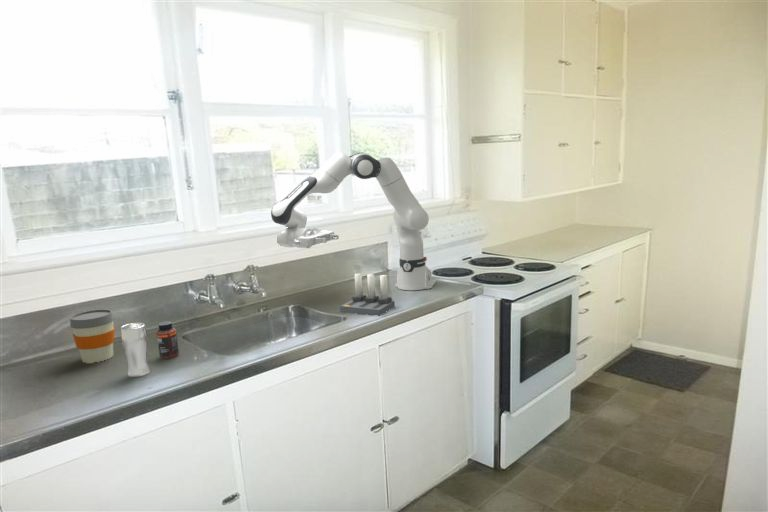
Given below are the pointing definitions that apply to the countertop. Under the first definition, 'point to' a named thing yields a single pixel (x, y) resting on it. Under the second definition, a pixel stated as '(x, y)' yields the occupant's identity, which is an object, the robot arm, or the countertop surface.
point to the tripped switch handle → (358, 288)
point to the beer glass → (135, 348)
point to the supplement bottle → (167, 340)
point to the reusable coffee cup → (93, 334)
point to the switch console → (371, 299)
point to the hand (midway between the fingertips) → (332, 238)
